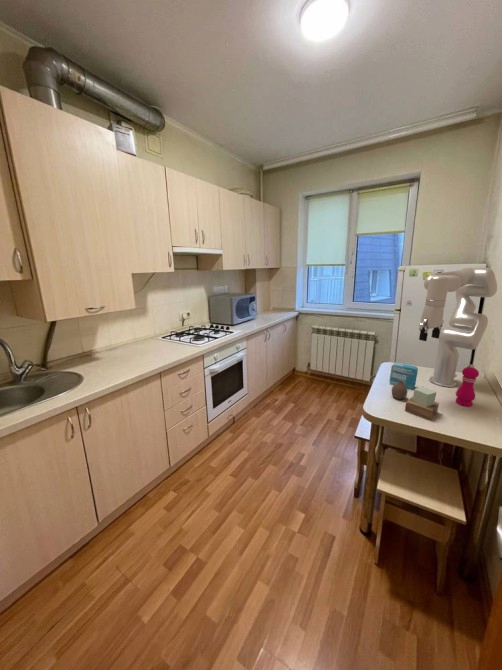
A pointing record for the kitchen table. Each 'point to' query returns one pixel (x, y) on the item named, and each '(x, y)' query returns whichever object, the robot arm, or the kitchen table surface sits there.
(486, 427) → the kitchen table surface
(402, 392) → the vase
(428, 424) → the kitchen table surface
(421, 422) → the kitchen table surface
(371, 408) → the kitchen table surface
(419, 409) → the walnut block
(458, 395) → the pepper mill
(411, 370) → the data package
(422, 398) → the green cube
